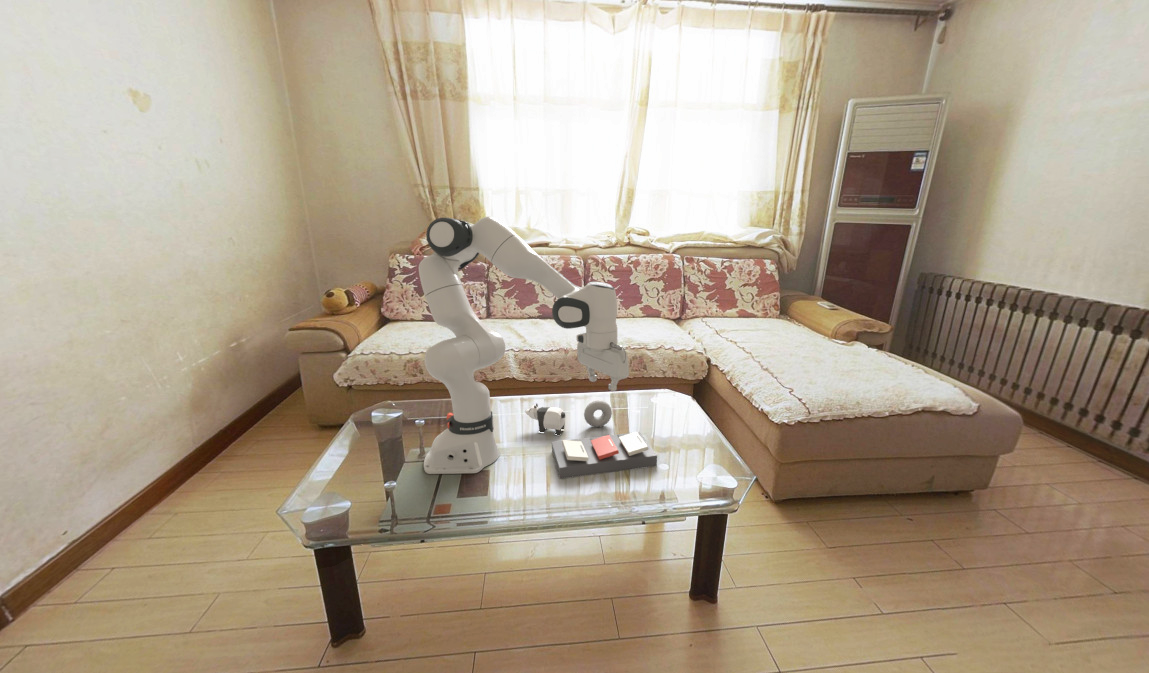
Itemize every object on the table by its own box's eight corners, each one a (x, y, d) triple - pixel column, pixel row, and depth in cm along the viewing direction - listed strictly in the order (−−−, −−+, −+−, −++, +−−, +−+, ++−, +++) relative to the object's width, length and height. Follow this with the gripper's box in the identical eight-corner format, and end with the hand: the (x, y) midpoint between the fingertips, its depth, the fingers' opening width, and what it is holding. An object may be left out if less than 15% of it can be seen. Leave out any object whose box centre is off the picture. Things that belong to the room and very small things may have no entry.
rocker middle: (599, 459, 120) (598, 456, 120) (591, 443, 129) (590, 440, 129) (618, 453, 121) (618, 449, 121) (609, 437, 130) (608, 434, 130)
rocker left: (567, 459, 118) (568, 455, 118) (561, 443, 127) (562, 439, 127) (587, 461, 120) (588, 457, 119) (580, 444, 129) (581, 441, 128)
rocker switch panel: (559, 478, 118) (559, 465, 117) (552, 451, 133) (551, 439, 131) (656, 466, 124) (657, 453, 123) (639, 441, 138) (639, 429, 137)
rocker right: (629, 456, 122) (628, 452, 121) (619, 440, 131) (618, 436, 131) (648, 449, 123) (647, 446, 122) (637, 434, 132) (636, 431, 131)
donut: (585, 430, 146) (585, 403, 144) (583, 425, 150) (582, 399, 147) (613, 427, 148) (613, 401, 146) (610, 423, 151) (610, 397, 149)
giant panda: (568, 429, 147) (567, 404, 145) (562, 437, 142) (562, 411, 139) (529, 424, 151) (528, 400, 149) (523, 431, 146) (521, 406, 144)
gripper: (634, 345, 112) (634, 393, 115) (590, 331, 129) (591, 374, 132) (616, 349, 109) (616, 399, 112) (573, 334, 125) (574, 378, 129)
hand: (602, 385), depth 122 cm, fingers open, 8 cm apart
